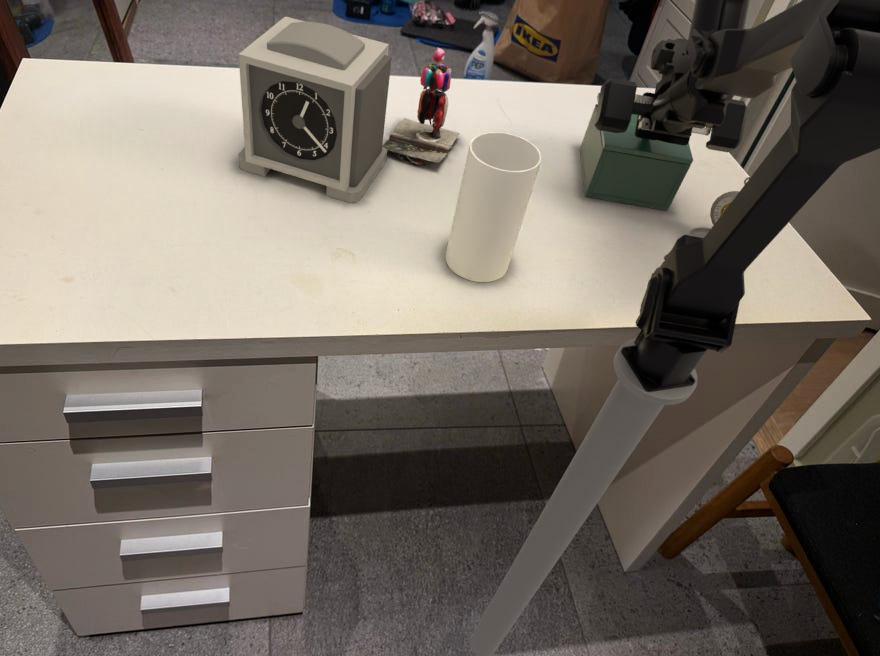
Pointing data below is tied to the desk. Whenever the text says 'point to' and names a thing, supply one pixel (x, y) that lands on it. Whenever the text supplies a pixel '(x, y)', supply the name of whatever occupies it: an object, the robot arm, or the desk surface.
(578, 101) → the desk surface
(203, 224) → the desk surface
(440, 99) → the statue
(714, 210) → the pocket watch
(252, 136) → the alarm clock
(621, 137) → the lid
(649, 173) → the panel
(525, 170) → the cup
